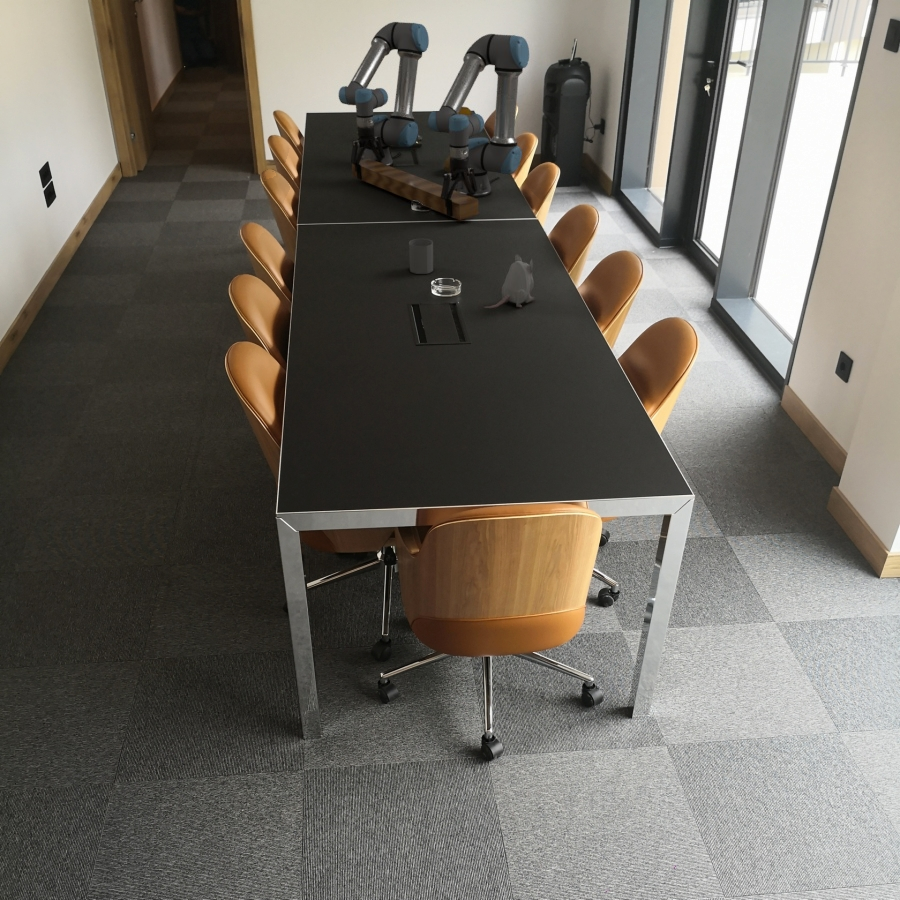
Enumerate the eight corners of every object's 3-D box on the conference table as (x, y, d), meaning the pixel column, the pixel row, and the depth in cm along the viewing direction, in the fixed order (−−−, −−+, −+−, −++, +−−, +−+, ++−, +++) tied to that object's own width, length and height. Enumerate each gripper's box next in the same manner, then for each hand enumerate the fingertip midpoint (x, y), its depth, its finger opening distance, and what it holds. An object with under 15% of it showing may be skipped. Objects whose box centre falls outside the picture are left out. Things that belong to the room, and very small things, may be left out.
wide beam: (352, 176, 401) (351, 162, 398) (370, 172, 406) (369, 158, 403) (459, 220, 348) (459, 204, 345) (478, 215, 353) (478, 199, 349)
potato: (462, 169, 421) (462, 152, 416) (464, 177, 409) (465, 160, 405) (442, 169, 420) (442, 152, 416) (444, 177, 408) (444, 160, 404)
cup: (409, 265, 311) (408, 238, 306) (432, 265, 312) (431, 238, 307) (410, 274, 304) (409, 246, 299) (433, 273, 305) (433, 246, 299)
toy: (541, 300, 285) (543, 256, 277) (494, 322, 270) (495, 276, 262) (519, 293, 290) (521, 249, 282) (472, 313, 276) (473, 269, 268)
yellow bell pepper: (471, 132, 486) (471, 108, 479) (451, 132, 486) (451, 108, 479) (470, 128, 495) (471, 104, 488) (452, 128, 495) (452, 104, 488)
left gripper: (348, 132, 379) (352, 183, 391) (391, 123, 390) (393, 173, 402) (339, 128, 384) (343, 179, 396) (381, 120, 395) (384, 170, 407)
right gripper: (442, 164, 334) (443, 220, 346) (487, 153, 345) (486, 209, 358) (430, 160, 339) (432, 216, 351) (475, 150, 350) (475, 204, 363)
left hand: (368, 176), depth 399 cm, fingers closed on wide beam, 10 cm apart
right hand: (459, 212), depth 354 cm, fingers closed on wide beam, 10 cm apart
